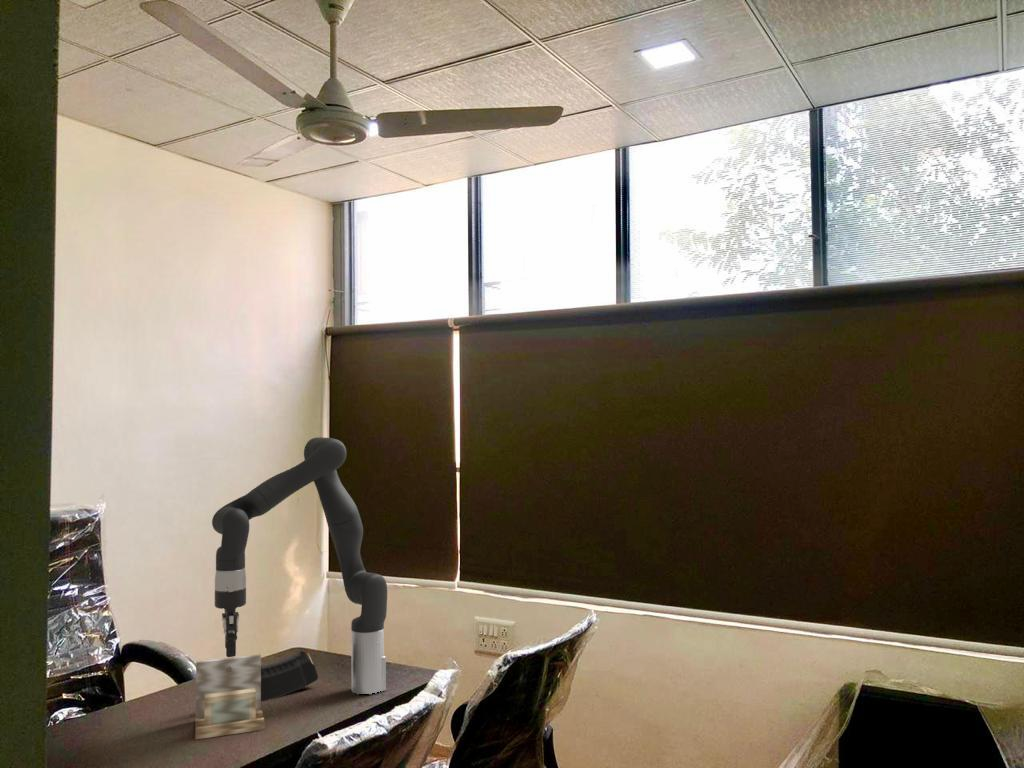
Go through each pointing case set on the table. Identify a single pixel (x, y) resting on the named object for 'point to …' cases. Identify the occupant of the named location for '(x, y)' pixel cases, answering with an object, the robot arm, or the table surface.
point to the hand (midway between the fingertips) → (230, 652)
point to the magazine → (287, 676)
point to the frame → (229, 706)
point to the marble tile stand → (223, 679)
